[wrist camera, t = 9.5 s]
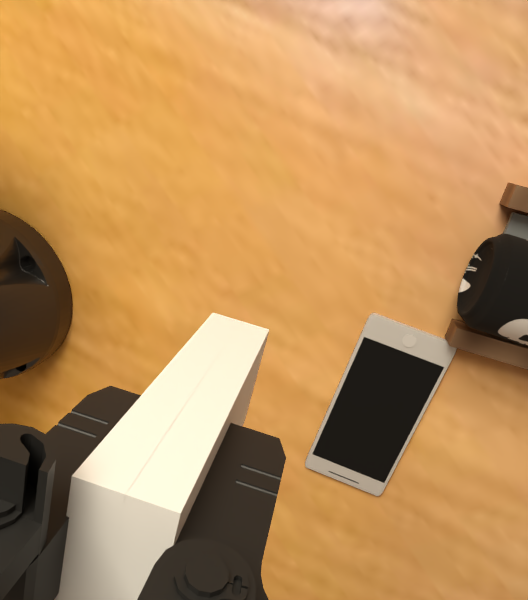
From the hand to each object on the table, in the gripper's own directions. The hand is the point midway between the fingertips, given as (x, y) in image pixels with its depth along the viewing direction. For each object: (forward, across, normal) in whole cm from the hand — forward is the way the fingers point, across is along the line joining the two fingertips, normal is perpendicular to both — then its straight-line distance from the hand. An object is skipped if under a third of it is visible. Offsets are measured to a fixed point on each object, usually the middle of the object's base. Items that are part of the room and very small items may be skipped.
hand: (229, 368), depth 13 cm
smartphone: (+27, +9, -14) cm, 32 cm away
